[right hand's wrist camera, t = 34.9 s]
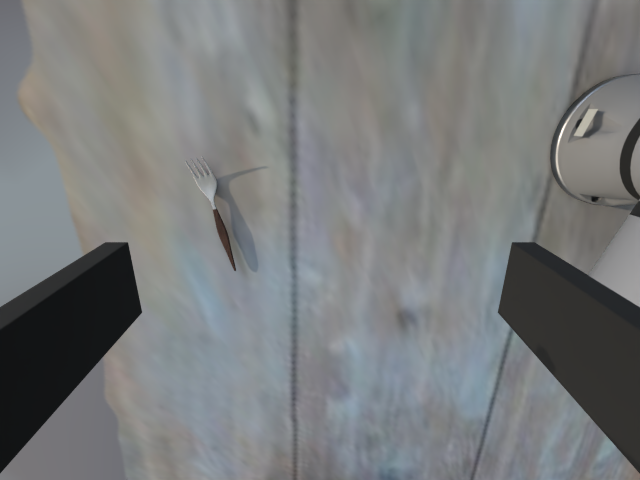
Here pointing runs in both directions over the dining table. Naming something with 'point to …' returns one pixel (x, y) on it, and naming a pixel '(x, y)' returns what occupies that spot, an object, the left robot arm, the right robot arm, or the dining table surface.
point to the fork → (209, 189)
